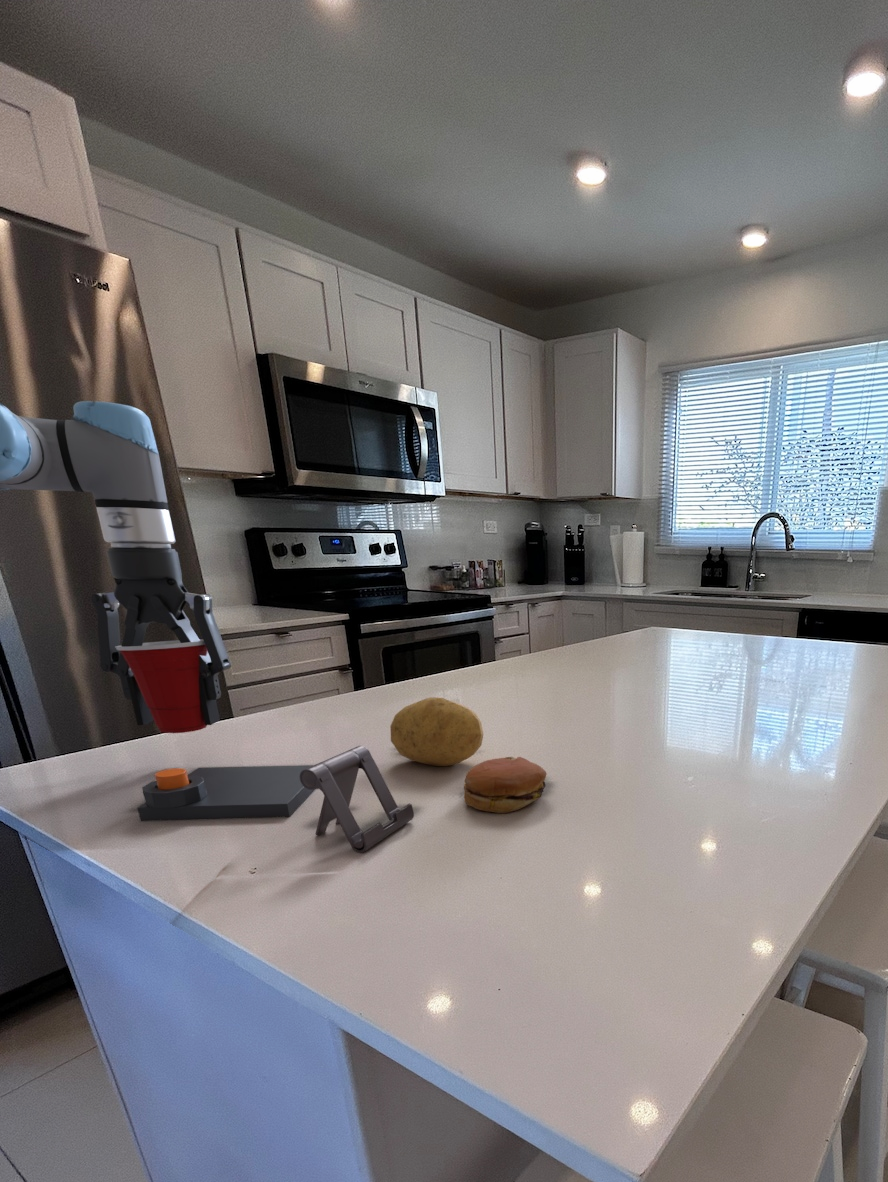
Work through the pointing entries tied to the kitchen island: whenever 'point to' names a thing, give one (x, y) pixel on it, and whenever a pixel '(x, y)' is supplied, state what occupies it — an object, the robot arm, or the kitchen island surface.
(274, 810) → the scale
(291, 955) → the kitchen island surface
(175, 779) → the button
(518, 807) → the burger
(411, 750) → the potato
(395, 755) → the kitchen island surface
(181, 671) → the plastic cup
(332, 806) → the tablet stand
